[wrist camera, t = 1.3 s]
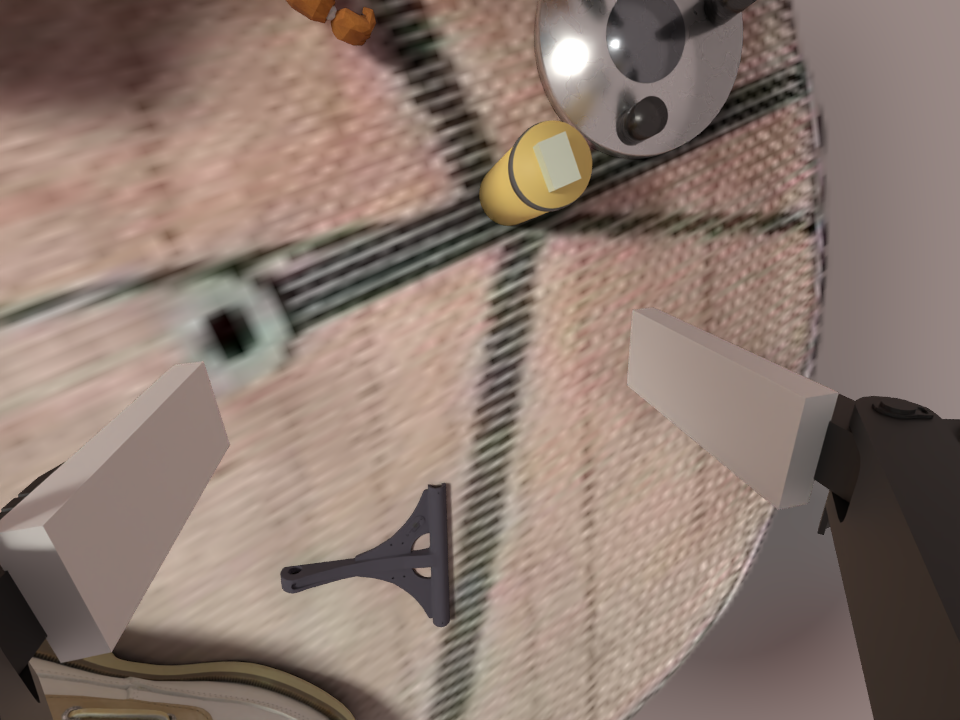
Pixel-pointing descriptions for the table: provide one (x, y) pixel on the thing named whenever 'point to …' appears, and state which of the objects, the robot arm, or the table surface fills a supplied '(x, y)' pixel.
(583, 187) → the travel mug
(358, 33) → the toy
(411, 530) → the bracket
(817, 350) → the table surface
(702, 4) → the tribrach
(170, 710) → the boat shoe
